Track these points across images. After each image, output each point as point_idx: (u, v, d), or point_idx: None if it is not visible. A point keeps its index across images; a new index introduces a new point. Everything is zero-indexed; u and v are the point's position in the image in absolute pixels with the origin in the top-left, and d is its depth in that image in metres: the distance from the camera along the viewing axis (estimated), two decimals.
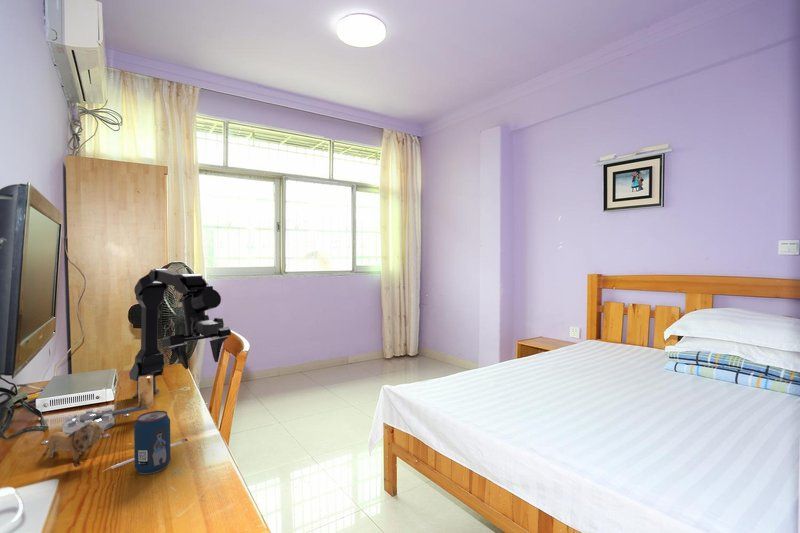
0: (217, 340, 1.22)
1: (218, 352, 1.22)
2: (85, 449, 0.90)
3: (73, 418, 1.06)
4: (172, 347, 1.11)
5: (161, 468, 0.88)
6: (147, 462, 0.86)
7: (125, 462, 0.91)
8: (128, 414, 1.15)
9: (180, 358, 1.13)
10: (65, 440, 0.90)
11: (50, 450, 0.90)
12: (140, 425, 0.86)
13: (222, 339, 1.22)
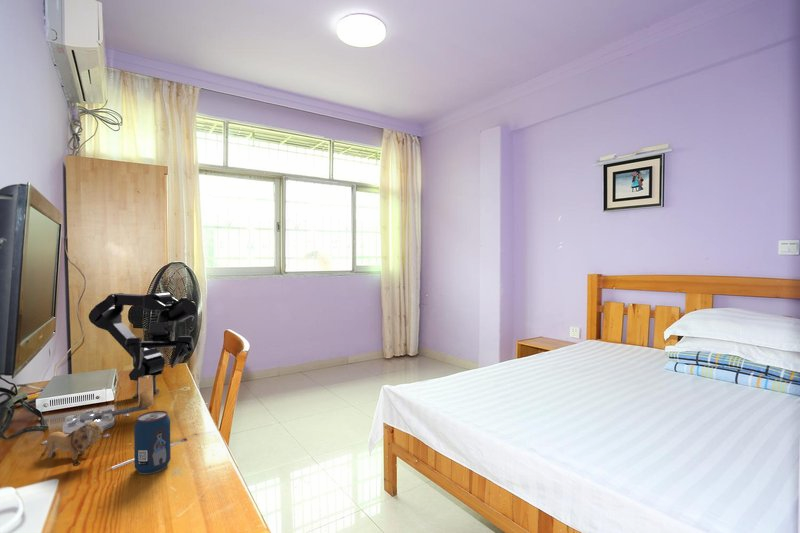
0: None
1: (174, 357, 1.24)
2: (84, 449, 0.90)
3: (73, 418, 1.06)
4: None
5: (161, 468, 0.88)
6: (147, 462, 0.86)
7: (125, 462, 0.91)
8: (128, 414, 1.15)
9: None
10: (64, 439, 0.90)
11: (49, 450, 0.91)
12: (140, 425, 0.86)
13: (179, 344, 1.26)
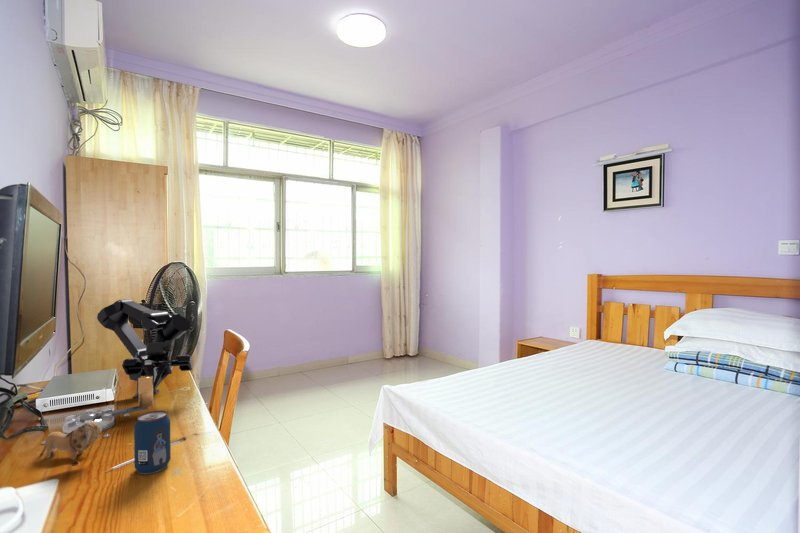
0: None
1: (156, 379, 1.21)
2: (83, 448, 0.91)
3: (73, 418, 1.06)
4: None
5: (161, 468, 0.88)
6: (147, 462, 0.86)
7: (126, 463, 0.91)
8: (128, 414, 1.15)
9: None
10: (63, 439, 0.90)
11: (47, 450, 0.91)
12: (140, 425, 0.86)
13: (161, 365, 1.23)
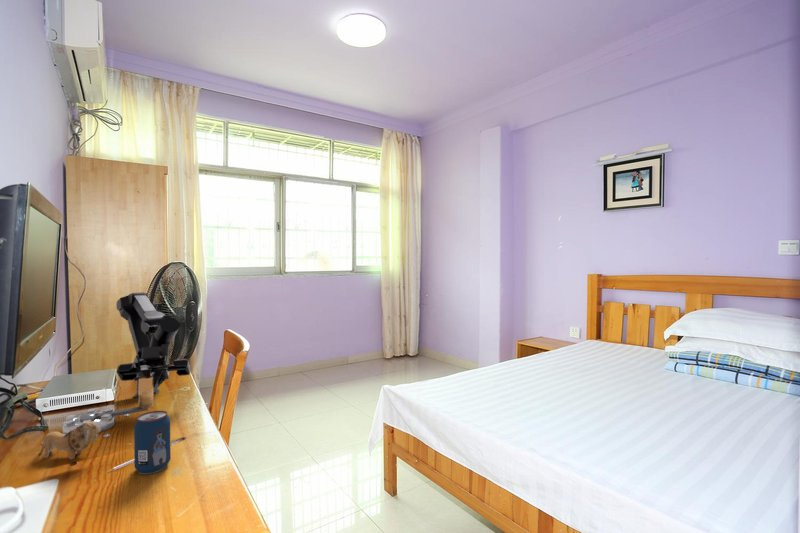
0: None
1: (153, 384, 1.17)
2: (81, 448, 0.91)
3: (74, 418, 1.06)
4: None
5: (161, 468, 0.88)
6: (147, 462, 0.86)
7: (127, 463, 0.91)
8: (128, 414, 1.15)
9: None
10: (61, 439, 0.90)
11: (46, 450, 0.91)
12: (140, 425, 0.86)
13: (158, 370, 1.18)
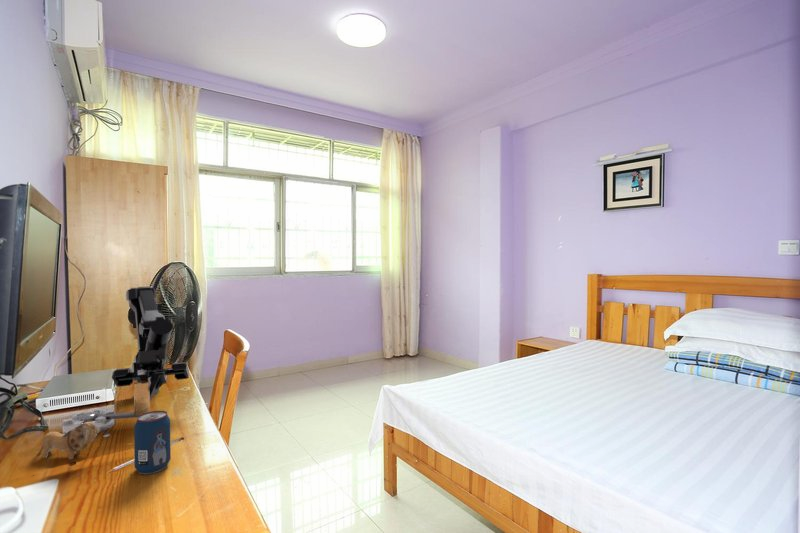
0: None
1: (150, 389, 1.12)
2: (80, 448, 0.91)
3: (78, 416, 1.07)
4: None
5: (161, 468, 0.88)
6: (147, 462, 0.86)
7: (127, 463, 0.90)
8: None
9: None
10: (60, 439, 0.90)
11: (45, 450, 0.91)
12: (140, 425, 0.86)
13: (155, 375, 1.14)
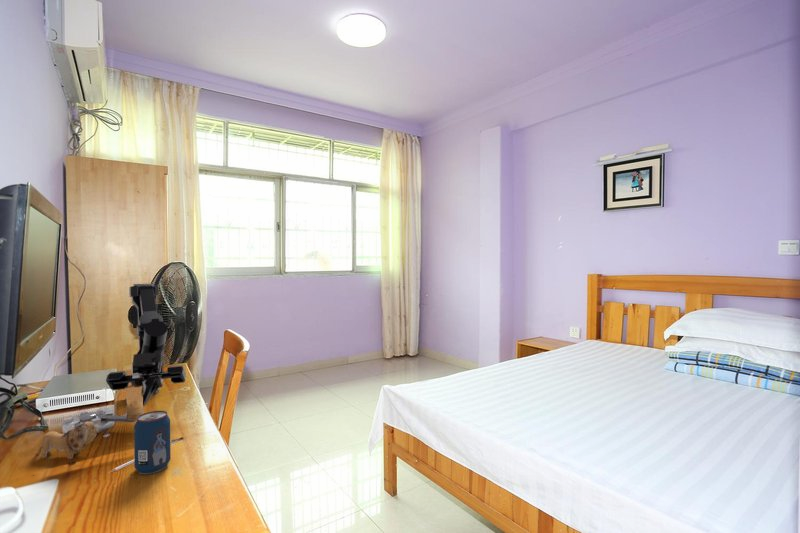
0: None
1: (145, 393, 1.09)
2: (80, 448, 0.91)
3: (82, 414, 1.08)
4: None
5: (161, 468, 0.88)
6: (147, 462, 0.86)
7: (128, 463, 0.90)
8: None
9: None
10: (60, 439, 0.90)
11: (44, 450, 0.91)
12: (140, 425, 0.86)
13: (150, 378, 1.10)
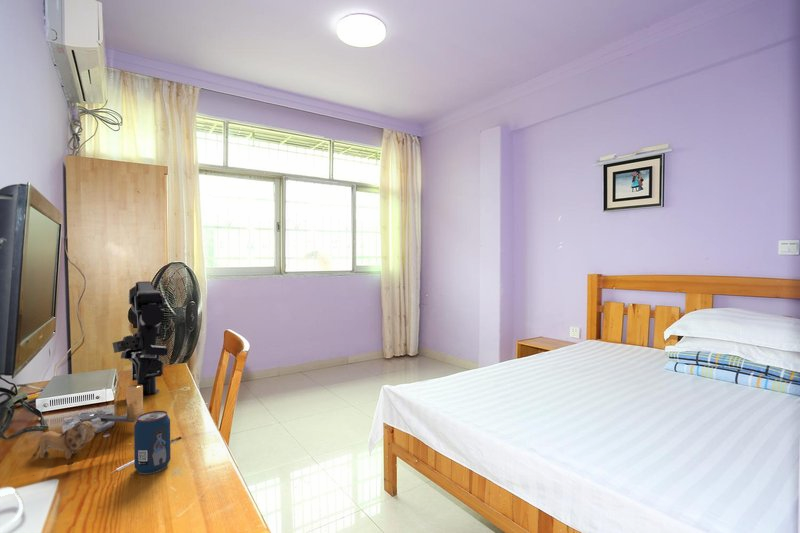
0: None
1: (138, 372, 1.19)
2: (78, 448, 0.91)
3: (82, 414, 1.08)
4: None
5: (161, 468, 0.88)
6: (147, 462, 0.86)
7: (129, 463, 0.90)
8: None
9: None
10: (57, 439, 0.91)
11: (41, 450, 0.91)
12: (140, 425, 0.86)
13: (135, 359, 1.18)
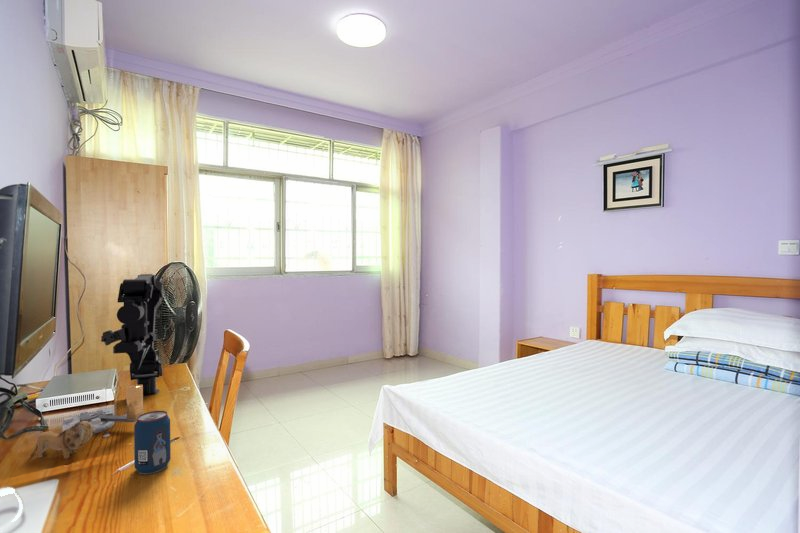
0: None
1: None
2: (76, 447, 0.91)
3: (82, 414, 1.08)
4: None
5: (161, 468, 0.88)
6: (147, 462, 0.86)
7: (130, 463, 0.90)
8: None
9: None
10: (56, 439, 0.91)
11: (39, 450, 0.91)
12: (140, 425, 0.86)
13: None
